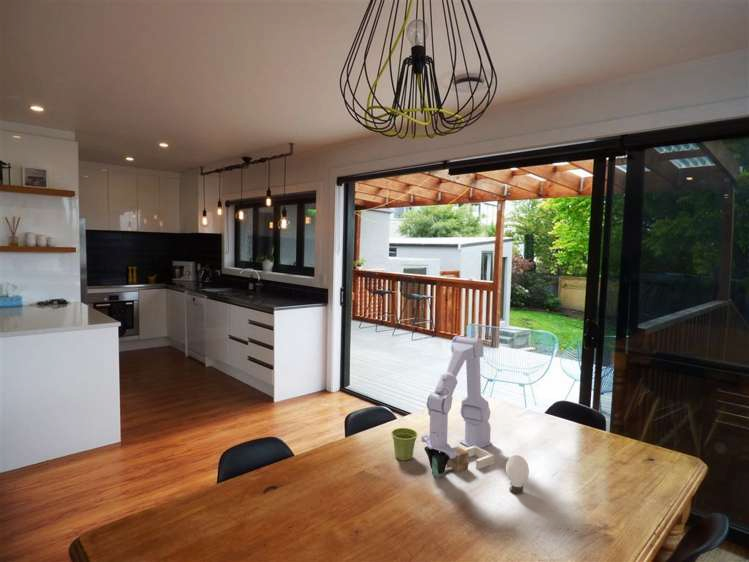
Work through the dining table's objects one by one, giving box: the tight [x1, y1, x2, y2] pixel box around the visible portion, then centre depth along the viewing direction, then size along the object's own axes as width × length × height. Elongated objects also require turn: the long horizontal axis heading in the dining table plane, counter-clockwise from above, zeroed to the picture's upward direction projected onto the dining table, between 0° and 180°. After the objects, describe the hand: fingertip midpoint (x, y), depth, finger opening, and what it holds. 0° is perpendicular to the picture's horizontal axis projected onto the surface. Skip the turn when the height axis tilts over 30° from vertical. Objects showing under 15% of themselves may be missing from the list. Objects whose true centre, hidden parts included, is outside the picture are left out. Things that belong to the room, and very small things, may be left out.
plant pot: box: [391, 427, 419, 462], centre depth 156 cm, size 9×9×9 cm
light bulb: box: [505, 454, 530, 495], centre depth 135 cm, size 7×7×11 cm
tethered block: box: [431, 445, 469, 479], centre depth 147 cm, size 12×5×6 cm, turn 124°
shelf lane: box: [463, 445, 495, 470], centre depth 154 cm, size 8×9×3 cm
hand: (437, 470), depth 144 cm, fingers closed on tethered block, 3 cm apart
